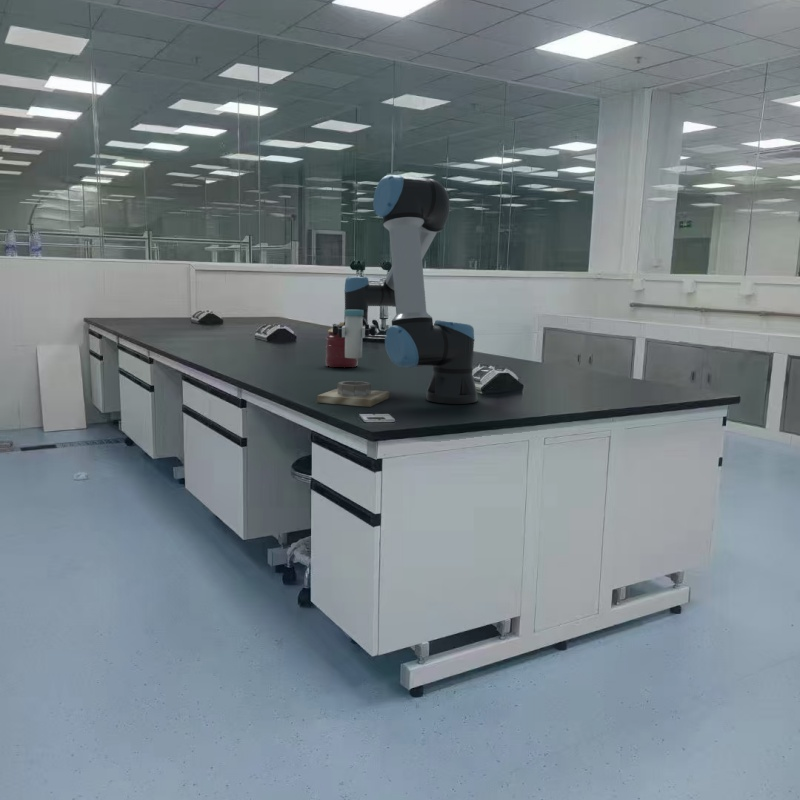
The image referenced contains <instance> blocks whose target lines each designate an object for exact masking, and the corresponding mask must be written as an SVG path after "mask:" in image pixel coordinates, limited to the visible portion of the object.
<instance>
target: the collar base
mask: <svg viewBox="0 0 800 800" xmlns="http://www.w3.org/2000/svg"><path fill="white" fill-rule="evenodd" d="M371 385H372V384H371V383H370V382H367V381H359V380H346V381H345V380H343V381H340V382H337V388H335V389H331V390H329V391H326V392H322V393H321V394H317V395H316V396H317V400H316V403H320V404H321V403H322V404H331V405H332V404H333V405H344V406H357V407H368V408H369V407H370V408H371V407H373V406H375V405H377V404H379V403H383V402H384V401H387V400H389V399H390V391H387V390H375V389H374V390H371V389H372V387H371Z"/></svg>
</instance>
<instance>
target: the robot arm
mask: <svg viewBox="0 0 800 800" xmlns="http://www.w3.org/2000/svg"><path fill="white" fill-rule="evenodd" d="M372 204H373V211H374V213H375V215H376V216H377V217H379V218H382V225H383V227H384V228H385V229H386V230H387V231H388V232H389V233H388V234H389V242H390V255H391V268H390V269H389V272H388V273H387V276H386V278H385V279H384V281H383V282H379V283H378V282H377V283H376V282H369V277H366V276H347V277H346V278H345V283H344V311H345V310H364V313H363V327H362V339H365V338H366V337H368V336H372V337H374V336H376V334H377V332H378V331H377V330H378V329H377V328H378V326H377V324H374V325H373V324H372V325H370V324H369V322H368V320H369V319H368V314H369V313H368V312H369V307H392V308H393V307H394V308H395V313H396V314H395V316H394V318H392V320H391V326H390V327H388V329H386V332H385V336H384V345H385V351H386V354H387V356H388V358H389V359H390V361H391V362H392V363H393V364H394V365H395V366H396V367H400V368H410V369H411V368H418V367H421V368H422V367H432V376H431V379H430V381H429V384H428V386H427V389H426V394H425V395H426V397H425V399H426V400H427V401H429V402H433V403H436V404H437V403H438V404H446V405H447V404H449V405H467V404H472V403H473V404H474V403H476V402H478V391H477V386H476V382H475V380H474V376H473V370H474V369H473V367H474V366H473V365H474V347H475V339H476V338H475V330H474V327H473V326H472V325H471V324H468V323H462V322H454V321H449V320H447V321H446V320H440V319H439V320H438V319H437V320H435V321H434V323H433V317H432V315H430V314H429V313H428V312H427V304H426V303H427V302H426V291H425V280H424V279H425V278H424V266H423V259H424V257H425V256H426V254H427V251H428V250H429V248H430V246H431V244H432V242H433V241H434V238H435V237H436V235H437V233H440V232H442V231H443V230H444V228H445V226H446V224H447V222H448V220H449V215H450V213H451V212H450V209H451V202H450V197H449V194H448V192H447V189H446V188H445V186H444V185H443V184H441V183H440V182H439V181H438V180H436V179H433V178H430V177H429V178H428V177H417V176H410V175H409V176H407V175H402V174H387V175H385V176H383V177H382V178H381V179H380V180H379V182H378V184H377V186H376V188H375V191H374V195H373V203H372ZM343 322H344V324H343V325H341V326H339V324H337V323H333V324H332V328H333V335H337V334H339V338H343V337H345V314H344V321H343Z"/></svg>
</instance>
